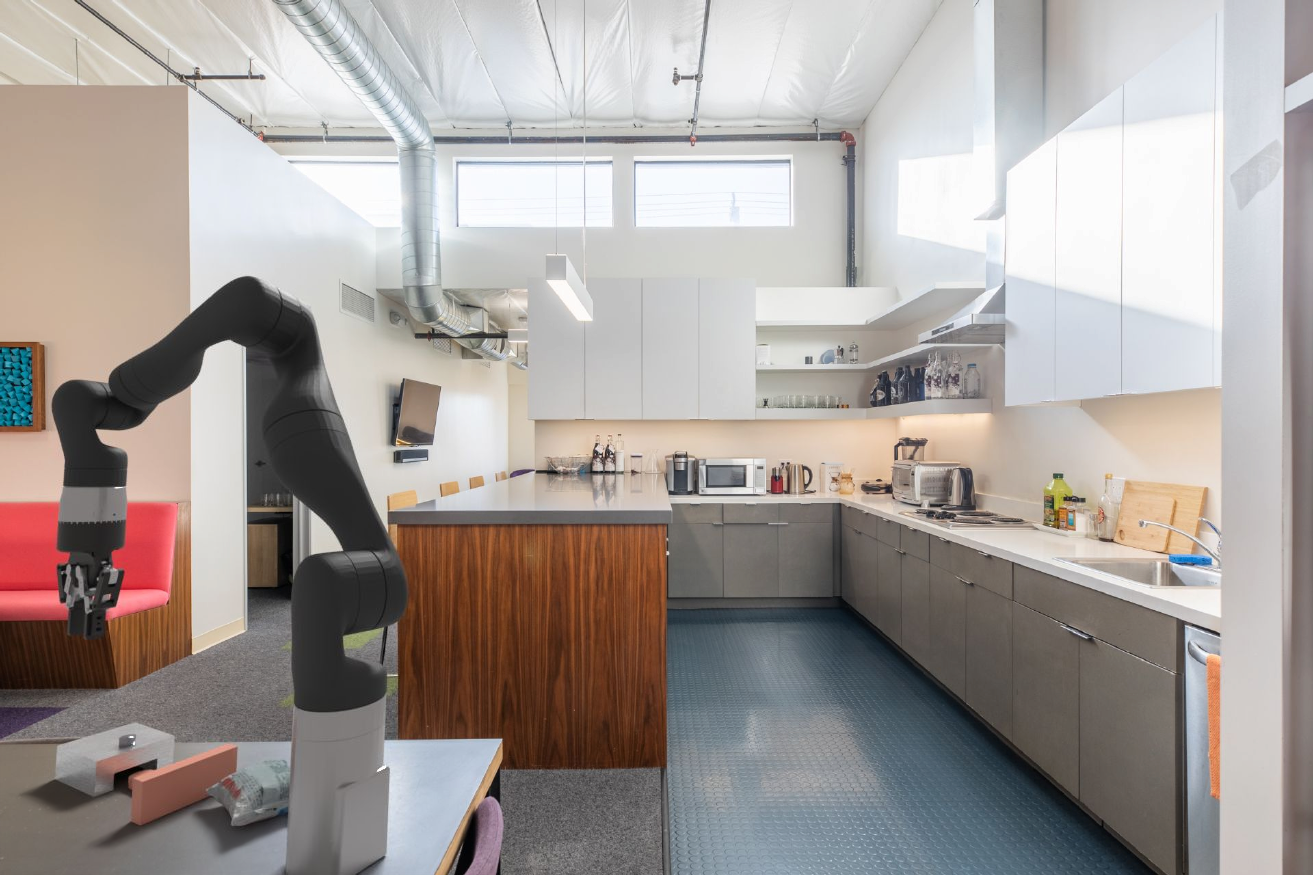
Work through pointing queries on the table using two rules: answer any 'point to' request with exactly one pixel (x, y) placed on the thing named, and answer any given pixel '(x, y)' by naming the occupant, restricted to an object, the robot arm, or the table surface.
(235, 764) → the salmon angled bracket
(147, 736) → the metal block with knob
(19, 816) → the table surface
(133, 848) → the table surface
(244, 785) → the packaged food
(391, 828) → the table surface
